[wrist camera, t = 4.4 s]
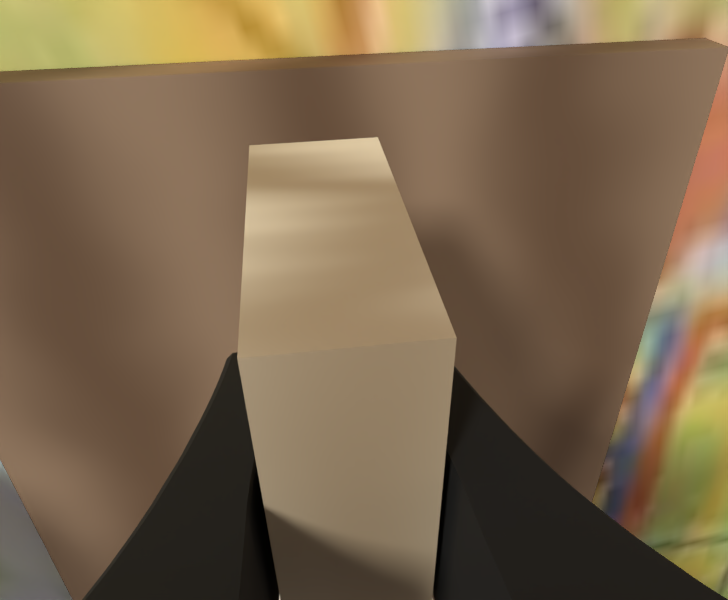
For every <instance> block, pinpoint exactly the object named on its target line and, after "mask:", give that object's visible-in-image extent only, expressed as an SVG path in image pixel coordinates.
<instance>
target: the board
mask: <svg viewBox="0 0 728 600" xmlns="http://www.w3.org/2000/svg"><path fill="white" fill-rule="evenodd" d="M727 54H728V47H727V46H725V45H722V44H719V43H717V42H714V41H711V40H709V39H706V38H697V39H676V40H655V41H633V42H612V43H591V44H570V45H549V46H528V47H507V48H486V49H465V50H444V51H423V52H402V53H381V54H360V55H339V56H318V57H297V58H276V59H255V60H234V61H212V62H191V63H170V64H149V65H128V66H107V67H86V68H65V69H44V70H23V71H2V72H0V460H1V462H2V464H3V466H4V468H5V470H6V471H7V473H8V475H9V477H10V479H11V481H12V483H13V485H14V487H15V489H16V491H17V493H18V495H19V497H20V499H21V500H22V502H23V504H24V506H25V508H26V510H27V512H28V514H29V516H30V518H31V520H32V522H33V524H34V526H35V528H36V530H37V531H38V533H39V535H40V537H41V539H42V541H43V543H44V545H45V547H46V549H47V551H48V553H49V555H50V557H51V559H52V561H53V562H54V564H55V566H56V568H57V570H58V572H59V574H60V576H61V578H62V580H63V582H64V584H65V586H66V588H67V590H68V591H69V593H70V595H71V597H72V599H73V600H82V599H83V598H84V597H85V595H86V594H87V593H88V592H89V590H90V589H91V588H92V586H93V585H94V584H95V583H96V581H97V580H98V579H99V578H100V576H101V575H102V574H103V573H104V571H105V570H106V569H107V567H108V566H109V565H110V563H111V562H112V560H113V559H114V558H115V556H116V555H117V554H118V552H119V551H120V549H121V548H122V547H123V545H124V544H125V543H126V541H127V540H128V538H129V537H130V535H131V534H132V533H133V531H134V530H135V528H136V527H137V525H138V524H139V522H140V521H141V519H142V518H143V516H144V515H145V513H146V512H147V510H148V509H149V507H150V506H151V504H152V503H153V501H154V499H155V498H156V496H157V495H158V493H159V491H160V490H161V488H162V486H163V485H164V483H165V481H166V480H167V478H168V477H169V475H170V473H171V472H172V470H173V468H174V467H175V465H176V463H177V462H178V460H179V458H180V457H181V455H182V453H183V451H184V449H185V447H186V446H187V444H188V442H189V440H190V438H191V436H192V434H193V432H194V430H195V429H196V427H197V425H198V423H199V421H200V419H201V417H202V415H203V413H204V411H205V409H206V407H207V405H208V403H209V401H210V399H211V396H212V394H213V392H214V390H215V388H216V385H217V383H218V381H219V378H220V376H221V373H222V371H223V368H224V365H225V362H226V359H227V358H228V357H229V356H230V355H231V354H232V353H236V352H238V336H239V319H240V301H241V284H242V266H243V248H244V231H245V213H246V196H247V178H248V161H249V145H263V144H279V143H295V142H311V141H326V140H342V139H358V138H374V137H378V139H379V141H380V144H381V147H382V149H383V152H384V154H385V157H386V159H387V162H388V164H389V167H390V169H391V172H392V175H393V177H394V180H395V182H396V185H397V187H398V190H399V192H400V195H401V197H402V200H403V202H404V205H405V208H406V210H407V213H408V215H409V218H410V220H411V223H412V225H413V228H414V230H415V233H416V235H417V238H418V241H419V243H420V246H421V248H422V251H423V253H424V256H425V258H426V261H427V263H428V266H429V269H430V271H431V274H432V276H433V279H434V281H435V284H436V286H437V289H438V291H439V294H440V296H441V299H442V302H443V304H444V307H445V309H446V312H447V314H448V317H449V319H450V322H451V324H452V327H453V330H454V332H455V335H456V337H457V340H456V351H455V361H454V366H455V367H456V368H457V369H458V371H459V372H460V373H461V374H462V375H463V376H464V378H465V379H466V380H467V381H468V382H469V383H470V385H471V386H472V387H473V388H474V389H475V390H476V392H477V393H478V394H479V395H480V396H481V397H482V398H483V399H484V401H485V402H486V403H487V404H488V405H489V406H490V407H491V408H492V409H493V410H494V411H495V412H496V413H497V414H498V415H499V417H500V418H501V419H502V420H503V421H504V422H505V423H506V424H507V425H508V426H509V427H510V428H511V429H512V430H513V431H514V432H515V433H516V434H517V435H518V436H519V437H520V438H521V439H522V440H523V441H524V442H525V443H526V444H527V445H528V446H529V447H530V448H531V449H532V450H533V451H534V452H535V453H536V454H537V455H538V456H539V457H540V458H541V459H543V460H544V461H545V462H546V463H547V464H548V465H549V466H550V467H551V468H552V469H553V470H554V471H556V472H557V473H558V474H559V475H560V476H561V477H562V478H563V479H564V480H566V481H567V482H568V483H569V484H570V485H571V486H572V487H574V488H575V489H576V490H577V491H578V492H580V493H581V494H582V495H583V496H584V497H586V498H587V499H588V500H589V501H590V502H592V500H593V497H594V493H595V490H596V487H597V483H598V480H599V477H600V474H601V470H602V467H603V464H604V460H605V457H606V454H607V450H608V447H609V444H610V441H611V437H612V434H613V431H614V427H615V424H616V421H617V417H618V414H619V411H620V407H621V404H622V401H623V398H624V394H625V391H626V388H627V384H628V381H629V378H630V374H631V371H632V368H633V364H634V361H635V358H636V355H637V351H638V348H639V345H640V341H641V338H642V335H643V331H644V328H645V325H646V322H647V318H648V315H649V312H650V308H651V305H652V302H653V298H654V295H655V292H656V288H657V285H658V282H659V279H660V275H661V272H662V269H663V265H664V262H665V259H666V255H667V252H668V249H669V246H670V242H671V239H672V236H673V232H674V229H675V226H676V222H677V219H678V216H679V212H680V209H681V206H682V203H683V199H684V196H685V193H686V189H687V186H688V183H689V179H690V176H691V173H692V170H693V166H694V163H695V160H696V156H697V153H698V150H699V146H700V143H701V140H702V136H703V133H704V130H705V127H706V123H707V120H708V117H709V113H710V110H711V107H712V103H713V100H714V97H715V94H716V90H717V87H718V84H719V80H720V77H721V74H722V70H723V67H724V64H725V60H726V57H727ZM432 598H433V600H435V599H434V596H433V595H432Z"/></svg>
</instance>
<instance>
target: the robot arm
mask: <svg viewBox="0 0 728 600" xmlns="http://www.w3.org/2000/svg"><path fill="white" fill-rule="evenodd" d="M237 354H238V352H236V353H232V354H231V355H230V356H229V357H228V358H227V359H226V362H225V365H224V368H223V371H222V373H221V376H220V378H219V381H218V383H217V385H216V388H215V390H214V392H213V394H212V396H211V399H210V401H209V403H208V405H207V407H206V409H205V411H204V413H203V415H202V417H201V419H200V421H199V423H198V425H197V427H196V429H195V430H194V432H193V434H192V436H191V438H190V440H189V442H188V444H187V446H186V447H185V449H184V451H183V453H182V455H181V457H180V458H179V460H178V462H177V463H176V465H175V467H174V468H173V470H172V472H171V473H170V475H169V477H168V478H167V480H166V481H165V483H164V485H163V486H162V488H161V490H160V491H159V493H158V495H157V496H156V498H155V499H154V501H153V503H152V504H151V506H150V507H149V509H148V510H147V512H146V513H145V515H144V516H143V518H142V519H141V521H140V522H139V524H138V525H137V527H136V528H135V530H134V531H133V533H132V534H131V535H130V537H129V538H128V540H127V541H126V543H125V544H124V545H123V547H122V548H121V549H120V551H119V552H118V554H117V555H116V556H115V558H114V559H113V560H112V562H111V563H110V565H109V566H108V567H107V569H106V570H105V571H104V573H103V574H102V575H101V576H100V578H99V579H98V580H97V581H96V583H95V584H94V585H93V586H92V588H91V589H90V590H89V592H88V593H87V594H86V595H85V597H84V598H83V599H82V600H279V588H278V582H277V577H276V571H275V566H274V560H273V555H272V549H271V544H270V538H269V532H268V527H267V521H266V516H265V510H264V505H263V499H262V493H261V488H260V482H259V477H258V471H257V466H256V460H255V455H254V449H253V443H252V438H251V432H250V427H249V421H248V416H247V410H246V404H245V399H244V393H243V388H242V382H241V377H240V371H239V366H238V360H237ZM433 596H434V599H435V600H728V599H726V598H724V597H723V596H721V595H720V594H718V593H716V592H715V591H713V590H712V589H710V588H708V587H707V586H705V585H704V584H702V583H701V582H699V581H698V580H697V579H695V578H694V577H692V576H691V575H689V574H688V573H686V572H685V571H684V570H682V569H681V568H679V567H678V566H676V565H675V564H674V563H672V562H671V561H669V560H668V559H666V558H665V557H664V556H662V555H661V554H659V553H658V552H656V551H655V550H654V549H652V548H651V547H649V546H648V545H646V544H645V543H643V542H642V541H641V540H639V539H638V538H636V537H635V536H634V535H632V534H631V533H630V532H628V531H627V530H626V529H625V528H623V527H622V526H621V525H619V524H618V523H617V522H615V521H614V520H613V519H612V518H610V517H609V516H608V515H606V514H605V513H604V512H603V511H601V510H600V509H599V508H598V507H596V506H595V505H594V504H593V503H592V502H590V501H589V500H588V499H587V498H586V497H584V496H583V495H582V494H581V493H580V492H578V491H577V490H576V489H575V488H574V487H572V486H571V485H570V484H569V483H568V482H567V481H566V480H564V479H563V478H562V477H561V476H560V475H559V474H558V473H557V472H556V471H554V470H553V469H552V468H551V467H550V466H549V465H548V464H547V463H546V462H545V461H544V460H543V459H541V458H540V457H539V456H538V455H537V454H536V453H535V452H534V451H533V450H532V449H531V448H530V447H529V446H528V445H527V444H526V443H525V442H524V441H523V440H522V439H521V438H520V437H519V436H518V435H517V434H516V433H515V432H514V431H513V430H512V429H511V428H510V427H509V426H508V425H507V424H506V423H505V422H504V421H503V420H502V419H501V418H500V417H499V415H498V414H497V413H496V412H495V411H494V410H493V409H492V408H491V407H490V406H489V405H488V404H487V403H486V402H485V401H484V399H483V398H482V397H481V396H480V395H479V394H478V393H477V392H476V390H475V389H474V388H473V387H472V386H471V385H470V383H469V382H468V381H467V380H466V379H465V378H464V376H463V375H462V374H461V373H460V372H459V371H458V369H457V368H456V367H455V366H454V372H453V382H452V393H451V404H450V414H449V425H448V436H447V446H446V457H445V468H444V478H443V489H442V500H441V510H440V521H439V531H438V542H437V553H436V563H435V574H434V585H433Z"/></svg>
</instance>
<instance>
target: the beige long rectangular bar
mask: <svg viewBox="0 0 728 600" xmlns="http://www.w3.org/2000/svg"><path fill="white" fill-rule="evenodd" d="M456 340H457V337H456V335H455V332H454V330H453V327H452V324H451V322H450V319H449V317H448V314H447V312H446V309H445V307H444V304H443V302H442V299H441V296H440V294H439V291H438V289H437V286H436V284H435V281H434V279H433V276H432V274H431V271H430V269H429V266H428V263H427V261H426V258H425V256H424V253H423V251H422V248H421V246H420V243H419V241H418V238H417V235H416V233H415V230H414V228H413V225H412V223H411V220H410V218H409V215H408V213H407V210H406V208H405V205H404V202H403V200H402V197H401V195H400V192H399V190H398V187H397V185H396V182H395V180H394V177H393V175H392V172H391V169H390V167H389V164H388V162H387V159H386V157H385V154H384V152H383V149H382V147H381V144H380V141H379V139H378V137H374V138H358V139H342V140H326V141H311V142H295V143H279V144H263V145H249V161H248V178H247V196H246V213H245V231H244V248H243V266H242V284H241V301H240V319H239V336H238V354H237V360H238V366H239V371H240V377H241V382H242V388H243V393H244V399H245V404H246V410H247V416H248V421H249V427H250V432H251V438H252V443H253V449H254V455H255V460H256V466H257V471H258V477H259V482H260V488H261V493H262V499H263V505H264V510H265V516H266V521H267V527H268V532H269V538H270V544H271V549H272V555H273V560H274V566H275V571H276V577H277V582H278V588H279V594H280V599H281V600H432V595H433V585H434V574H435V563H436V553H437V542H438V531H439V521H440V510H441V500H442V489H443V478H444V468H445V457H446V446H447V436H448V425H449V414H450V404H451V393H452V382H453V372H454V361H455V351H456Z"/></svg>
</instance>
